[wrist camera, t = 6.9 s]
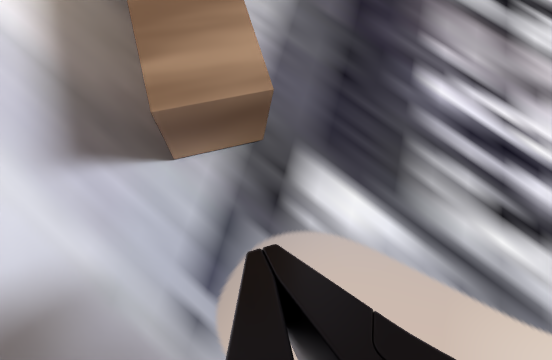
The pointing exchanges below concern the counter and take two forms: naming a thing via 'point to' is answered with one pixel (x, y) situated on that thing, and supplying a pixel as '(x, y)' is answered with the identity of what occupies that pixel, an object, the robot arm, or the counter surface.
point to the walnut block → (202, 73)
